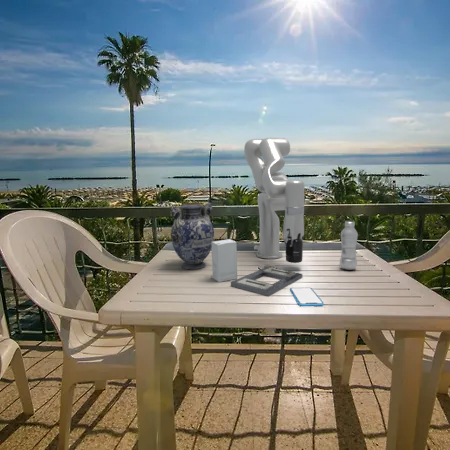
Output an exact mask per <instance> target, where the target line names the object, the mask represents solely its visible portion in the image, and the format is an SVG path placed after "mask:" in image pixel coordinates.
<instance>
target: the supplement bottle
mask: <svg viewBox="0 0 450 450" xmlns="http://www.w3.org/2000/svg"><path fill="white" fill-rule="evenodd" d="M300 237H301V233H299V234H298V237H297V239H295V240H294V242H293V246H294V249H293V256H287V255H286V254H285V261H286V262H288V263H295V264H297V263H301V262H303V257H304V256H303V254H304V253H303V251H304V249H303V248H304V240H303V241H302V239H300ZM289 238H290V237H289ZM290 239H291V238H290ZM289 241H290V240H289ZM290 243H291V241H290Z"/></svg>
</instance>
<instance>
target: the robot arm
mask: <svg viewBox="0 0 450 450" xmlns="http://www.w3.org/2000/svg"><path fill="white" fill-rule="evenodd" d="M290 153H291V144H290V142H289V140H288V138H287V139H286V138H285V137H266V138H253V139H249V140H247V141H246V142H245V144H244V158H245V161H246V162H247V164H248V166H249V168H250V169H251V173H252V176H253V181H254V183H255V186H256V189H257V190H258V191H259V192H260V193H259V194H258V196H257V207H258V213H259V245H257V244H255V245H254V246H253V250H254V251H257V252H256V256H257V258H261V259H268V260H270V259H271V260H272V259H273V260H274V259H279V258H282V257H283V253H282V252H281V251H280V229H281V228H280V225H281V224H280V217H279V216H278V215H277V213H276V212H277V211H284V218H283V227H282V240H283V241H284V245H285V256H286V255H287V256H293V249H294V246H293V242H294V240H295V239H297V237H298V234H299V233H301V237H300V239H302V241H303V242H304V235H305V221H304V219H305V218H304V215H305V182H304V181H303V180H294V179H288V177H287V175H286V174H285V173H283V172H281V170H283V168H284V167H285V164H286V161H285V158H284V157H285V156H288V155H289V154H290ZM289 237H290V238H291V239H290V238H289ZM289 240H290V241H291V243H290V241H289Z"/></svg>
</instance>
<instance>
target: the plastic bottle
mask: <svg viewBox="0 0 450 450" xmlns="http://www.w3.org/2000/svg"><path fill="white" fill-rule="evenodd" d="M355 224H356V222H355V220H354V221H353V220H345V221H344V228H343V229H342V230H341V232H340V239H341V241H340V242H341V252H340V253H341V254H340V259H339V266H340V268H341V269H343V270H347V271H352V270H356V268H357V267H358V266H357V265H358V260H357V242H358V237H359V234H358V231H357V230H356V227H355Z"/></svg>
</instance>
